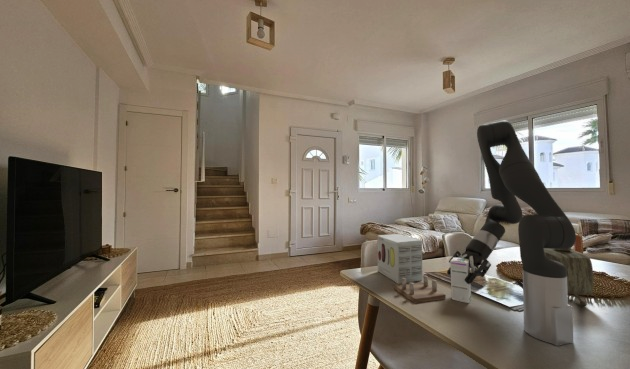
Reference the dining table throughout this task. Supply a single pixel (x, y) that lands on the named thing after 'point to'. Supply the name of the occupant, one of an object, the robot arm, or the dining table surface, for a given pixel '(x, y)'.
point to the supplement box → (400, 257)
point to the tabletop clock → (574, 270)
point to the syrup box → (460, 280)
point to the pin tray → (420, 291)
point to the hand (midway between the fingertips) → (457, 278)
